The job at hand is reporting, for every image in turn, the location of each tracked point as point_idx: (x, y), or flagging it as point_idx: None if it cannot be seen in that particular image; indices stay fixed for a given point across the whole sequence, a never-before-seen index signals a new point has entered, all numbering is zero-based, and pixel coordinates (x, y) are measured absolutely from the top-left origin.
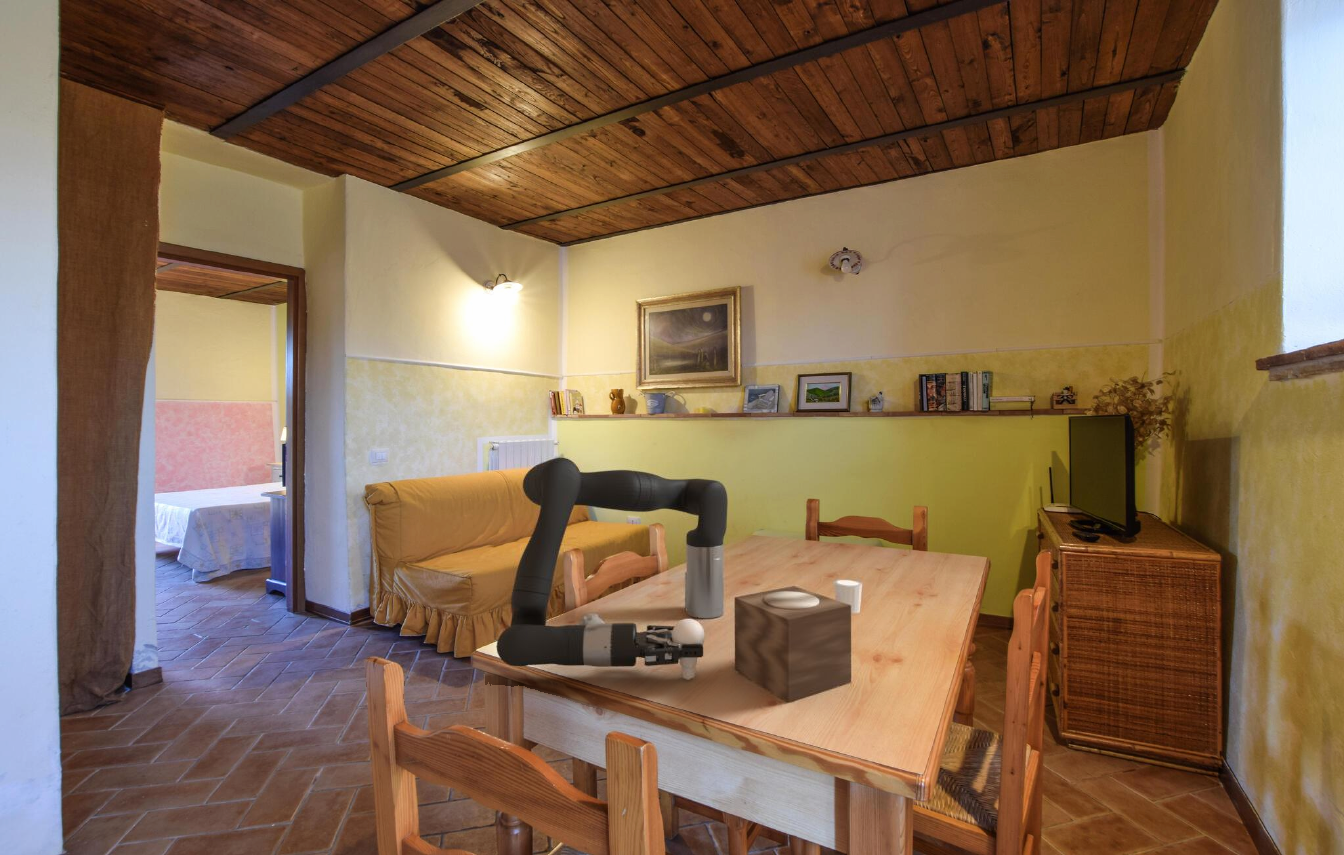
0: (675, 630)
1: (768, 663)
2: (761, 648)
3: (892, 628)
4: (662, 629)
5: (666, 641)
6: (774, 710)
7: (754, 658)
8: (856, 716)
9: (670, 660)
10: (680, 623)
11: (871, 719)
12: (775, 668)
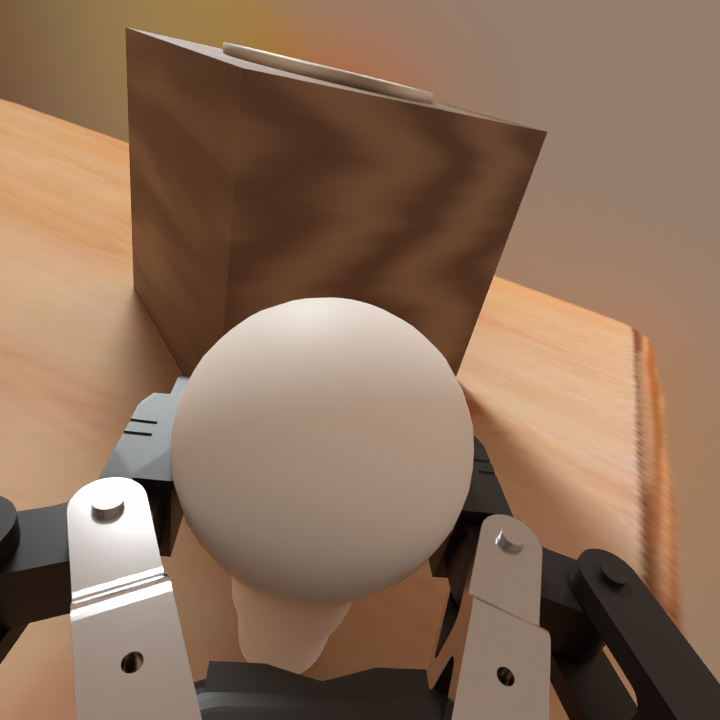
0: (417, 481)
1: (412, 315)
2: (393, 280)
3: (66, 163)
4: (81, 672)
5: (547, 635)
6: (509, 412)
7: None
8: (483, 317)
9: (597, 675)
10: (396, 387)
11: (487, 308)
12: (438, 316)
